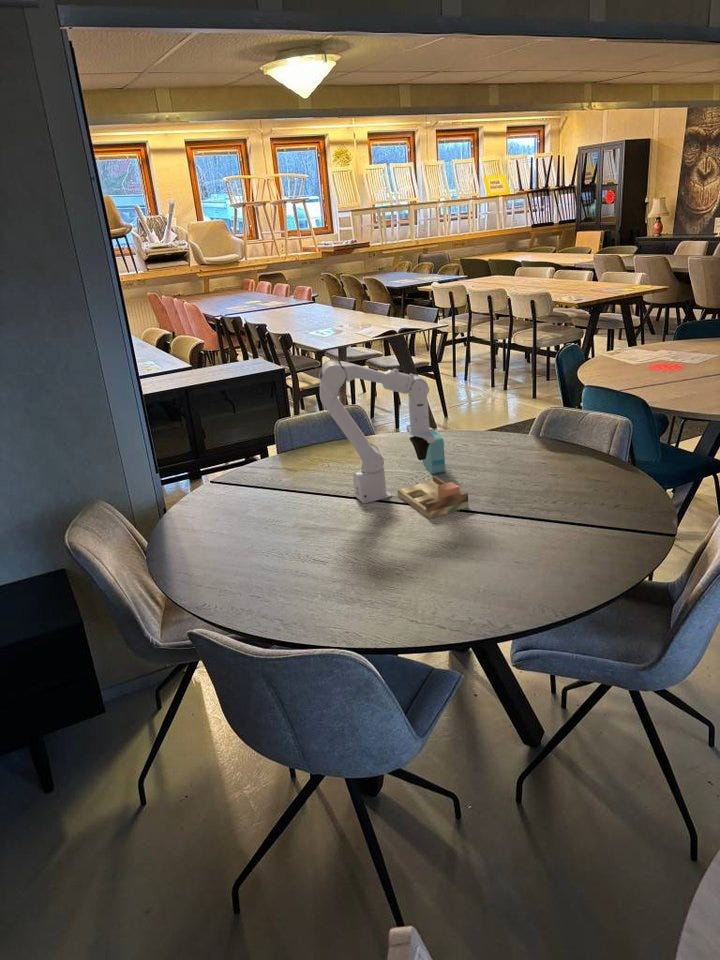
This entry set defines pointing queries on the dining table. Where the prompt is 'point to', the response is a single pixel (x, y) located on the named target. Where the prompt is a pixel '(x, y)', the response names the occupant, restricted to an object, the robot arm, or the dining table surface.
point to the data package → (435, 455)
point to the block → (448, 490)
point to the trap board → (432, 499)
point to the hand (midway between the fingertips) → (421, 459)
